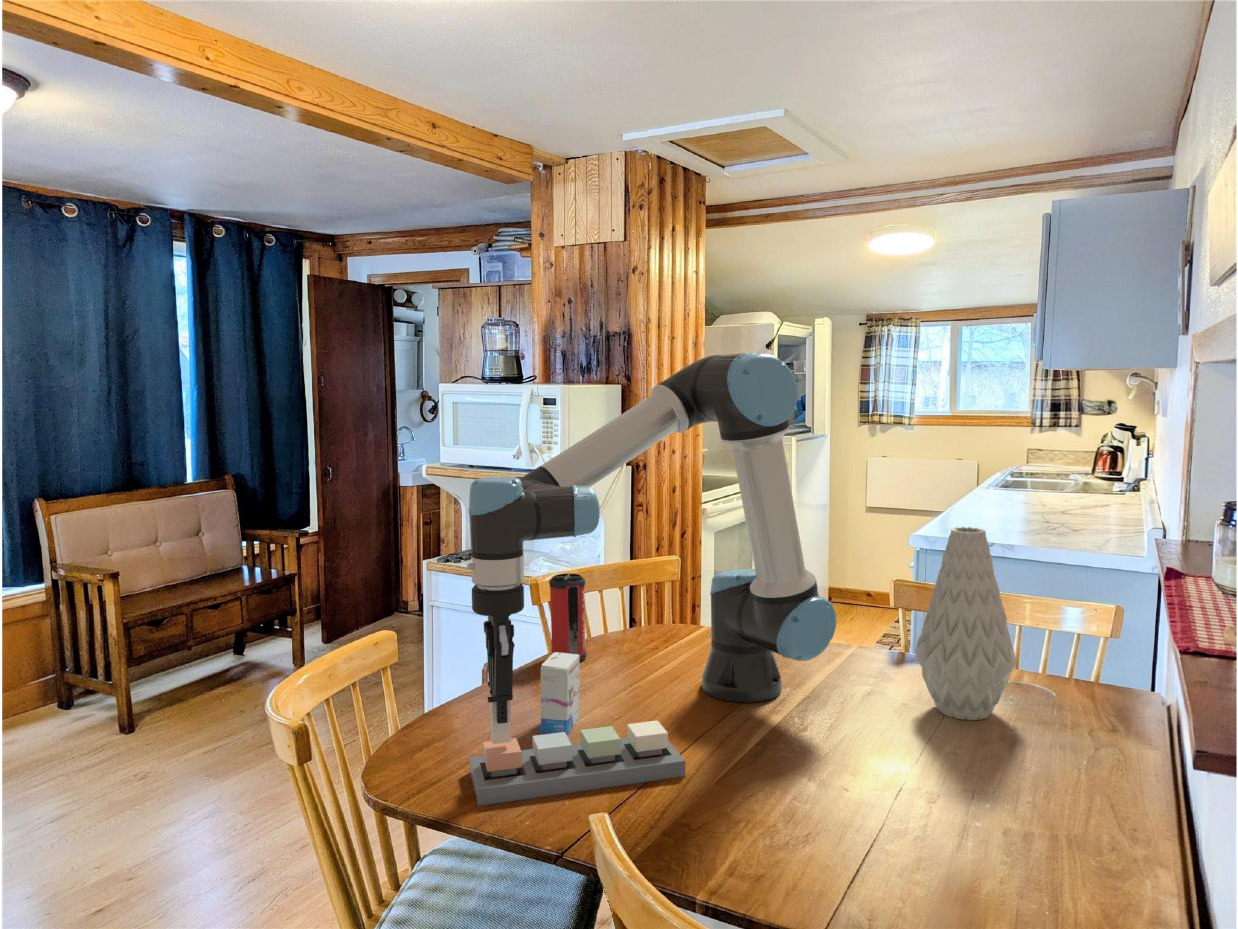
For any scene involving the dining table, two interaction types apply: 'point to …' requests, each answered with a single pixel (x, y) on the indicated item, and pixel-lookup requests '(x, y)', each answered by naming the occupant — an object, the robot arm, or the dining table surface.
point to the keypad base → (574, 774)
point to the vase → (966, 631)
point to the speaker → (568, 614)
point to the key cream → (647, 738)
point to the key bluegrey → (552, 750)
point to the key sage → (601, 744)
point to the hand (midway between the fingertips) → (501, 740)
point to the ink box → (559, 693)
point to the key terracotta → (502, 757)
